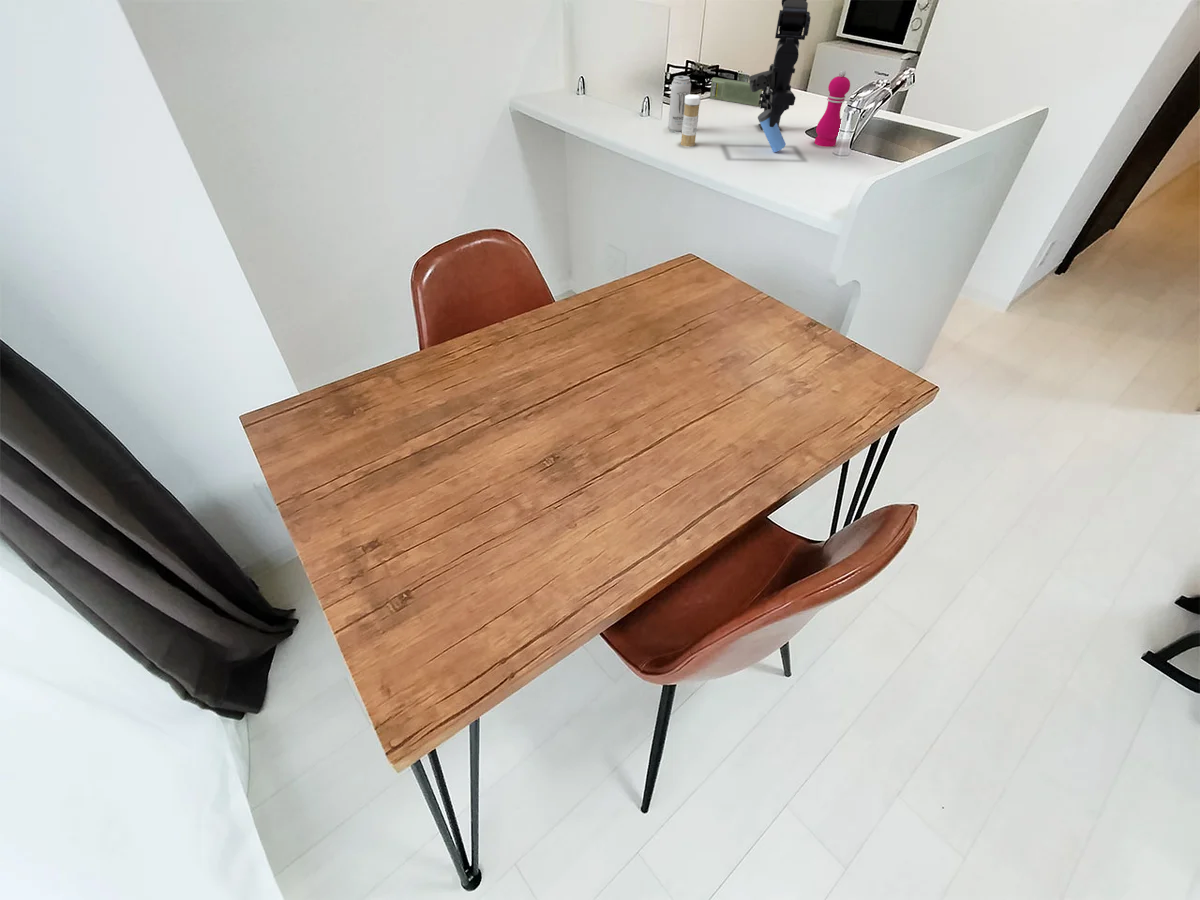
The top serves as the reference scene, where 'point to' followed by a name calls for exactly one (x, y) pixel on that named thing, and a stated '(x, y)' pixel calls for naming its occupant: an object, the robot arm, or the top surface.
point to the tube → (771, 131)
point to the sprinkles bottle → (690, 119)
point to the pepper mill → (832, 111)
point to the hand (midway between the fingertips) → (769, 124)
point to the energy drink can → (678, 102)
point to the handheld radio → (734, 92)
